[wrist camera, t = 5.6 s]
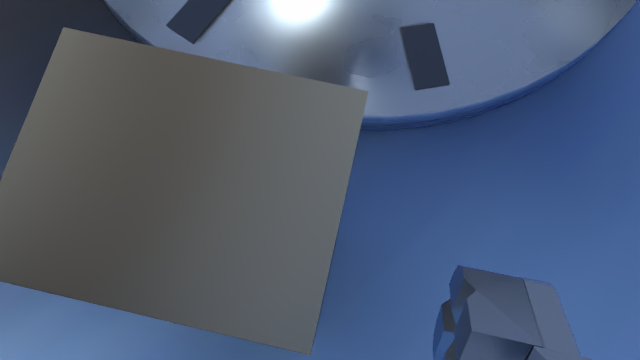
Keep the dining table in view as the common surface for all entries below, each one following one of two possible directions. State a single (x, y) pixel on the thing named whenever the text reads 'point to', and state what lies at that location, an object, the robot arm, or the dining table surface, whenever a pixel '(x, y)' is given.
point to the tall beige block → (180, 188)
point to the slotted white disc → (388, 46)
